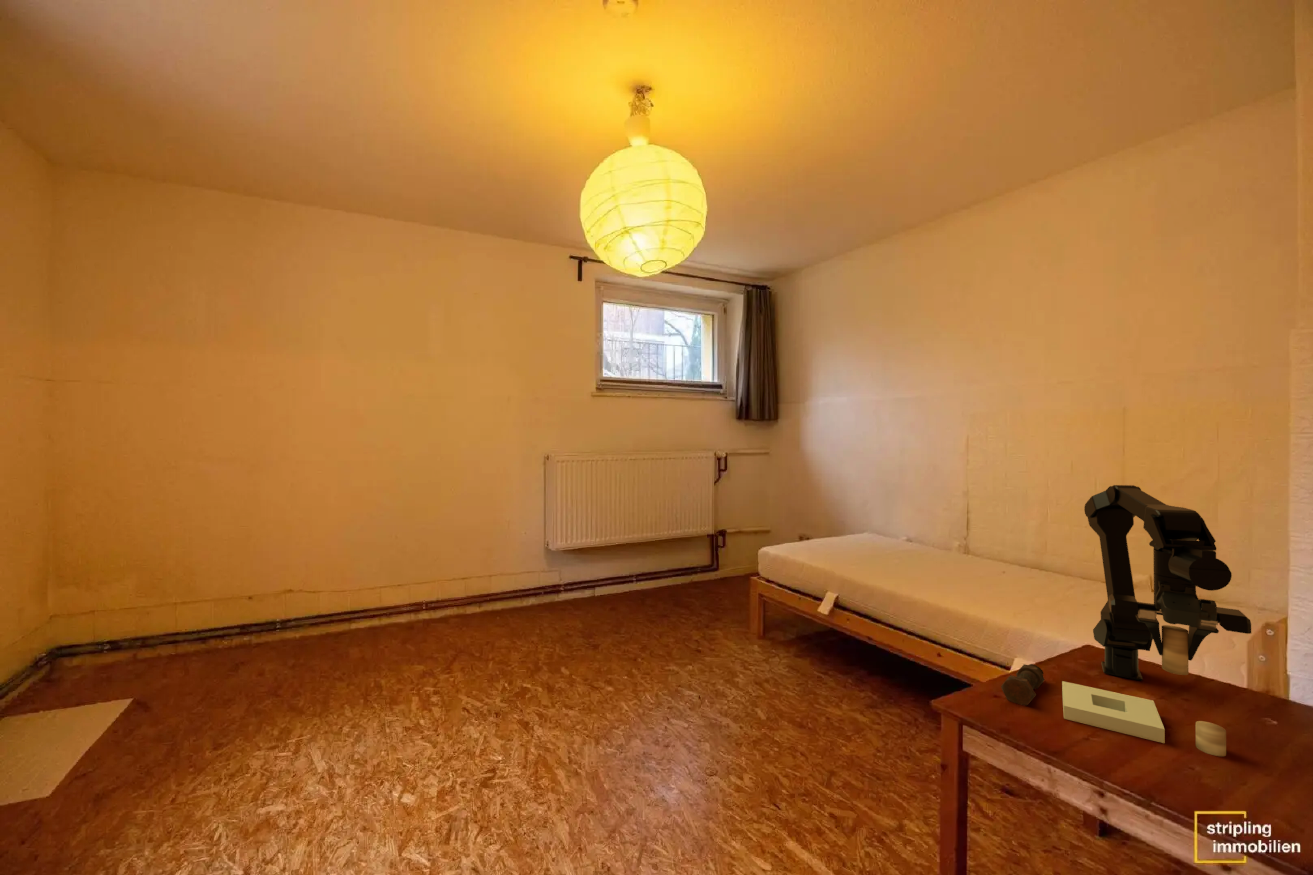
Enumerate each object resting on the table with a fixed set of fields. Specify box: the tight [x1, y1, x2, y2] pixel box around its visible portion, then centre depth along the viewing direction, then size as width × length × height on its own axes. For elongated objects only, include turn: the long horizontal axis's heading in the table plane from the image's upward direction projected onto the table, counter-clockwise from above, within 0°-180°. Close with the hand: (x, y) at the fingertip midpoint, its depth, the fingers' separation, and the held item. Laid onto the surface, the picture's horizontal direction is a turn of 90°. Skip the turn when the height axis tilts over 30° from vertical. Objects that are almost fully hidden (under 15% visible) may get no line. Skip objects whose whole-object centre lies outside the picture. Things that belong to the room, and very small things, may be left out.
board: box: [1061, 680, 1166, 744], centre depth 101 cm, size 12×14×2 cm
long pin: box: [1161, 624, 1189, 676], centre depth 100 cm, size 4×4×8 cm
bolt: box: [1000, 663, 1045, 707], centre depth 111 cm, size 6×5×15 cm
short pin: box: [1195, 720, 1227, 757], centre depth 90 cm, size 4×4×4 cm
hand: (1174, 657), depth 100 cm, fingers closed on long pin, 4 cm apart
